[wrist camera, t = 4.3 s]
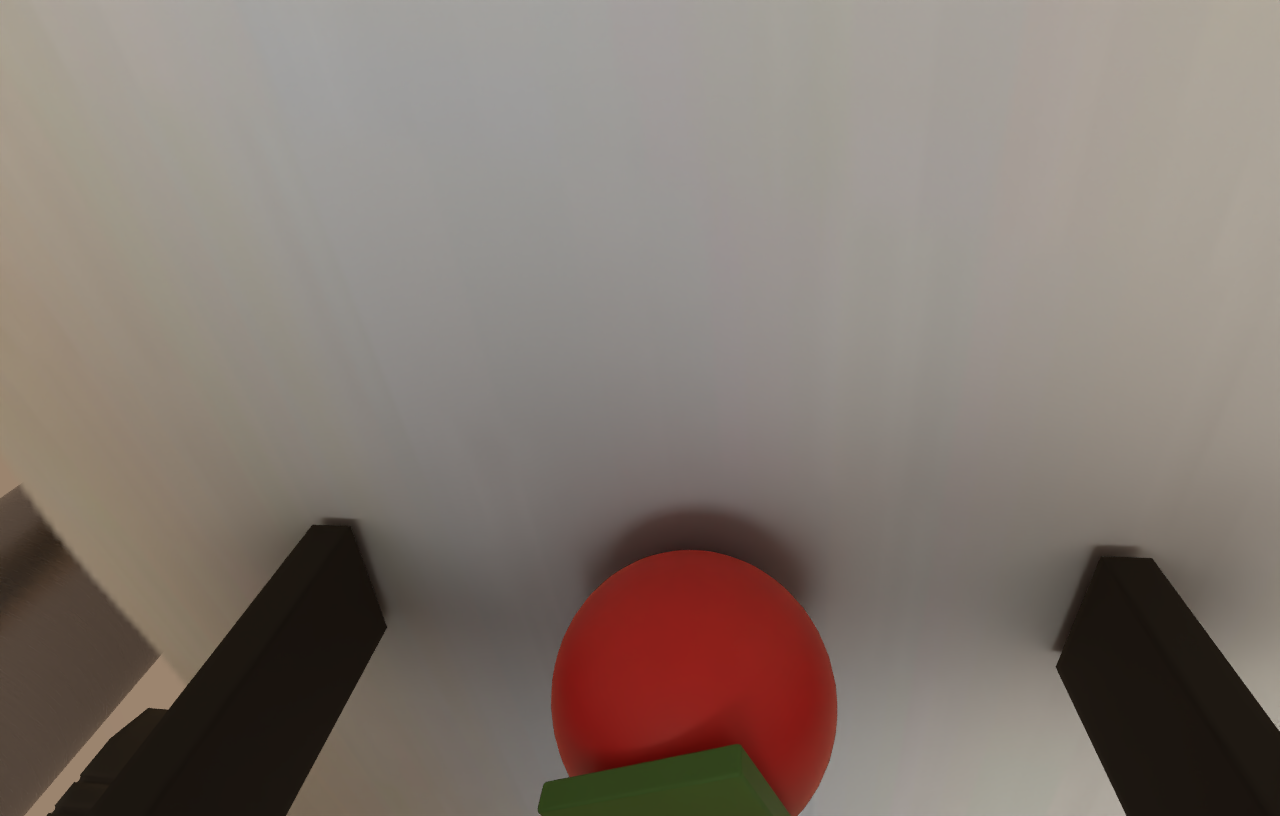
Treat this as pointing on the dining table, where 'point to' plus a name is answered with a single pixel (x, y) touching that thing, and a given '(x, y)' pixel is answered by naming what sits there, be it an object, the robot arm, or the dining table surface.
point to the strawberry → (690, 695)
